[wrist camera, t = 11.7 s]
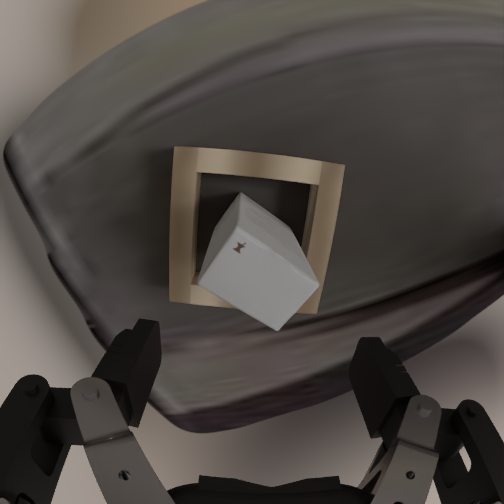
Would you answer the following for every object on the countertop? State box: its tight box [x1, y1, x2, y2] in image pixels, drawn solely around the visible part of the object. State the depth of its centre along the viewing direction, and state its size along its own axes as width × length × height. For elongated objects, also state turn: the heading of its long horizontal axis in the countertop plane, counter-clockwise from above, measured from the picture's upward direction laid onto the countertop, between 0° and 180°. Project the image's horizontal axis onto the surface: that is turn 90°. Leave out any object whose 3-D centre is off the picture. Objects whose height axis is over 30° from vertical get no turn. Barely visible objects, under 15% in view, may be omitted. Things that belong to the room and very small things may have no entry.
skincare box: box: [197, 192, 320, 331], centre depth 22 cm, size 6×4×12 cm
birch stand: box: [169, 146, 345, 314], centre depth 26 cm, size 14×14×3 cm
